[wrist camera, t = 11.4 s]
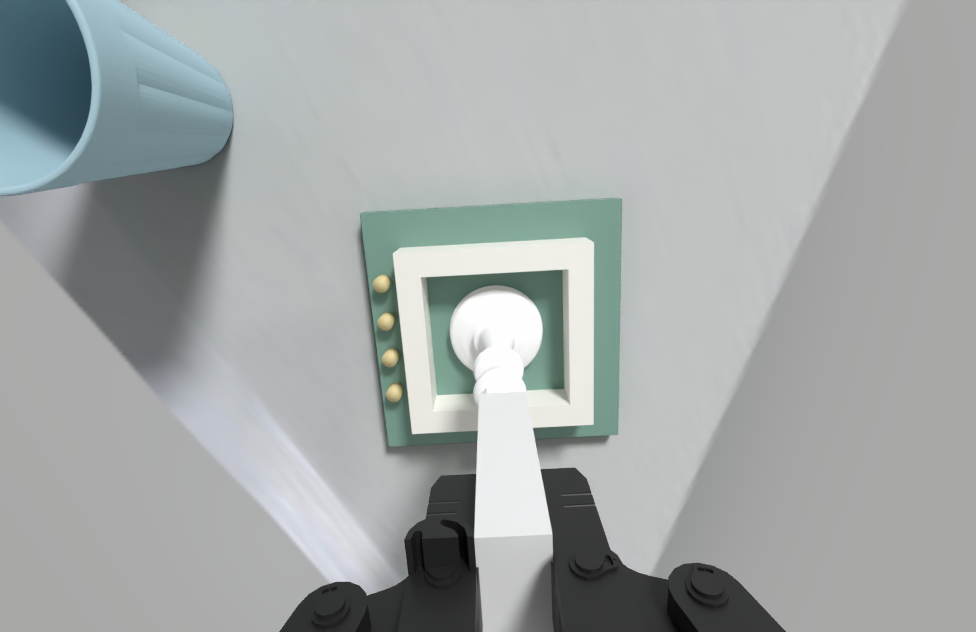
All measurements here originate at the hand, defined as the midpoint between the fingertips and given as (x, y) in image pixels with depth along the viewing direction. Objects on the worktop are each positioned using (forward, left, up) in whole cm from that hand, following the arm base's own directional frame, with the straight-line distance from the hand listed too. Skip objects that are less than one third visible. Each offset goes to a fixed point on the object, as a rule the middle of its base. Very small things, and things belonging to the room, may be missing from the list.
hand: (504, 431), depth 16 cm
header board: (0, 0, -12) cm, 12 cm away
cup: (-12, -15, -12) cm, 23 cm away
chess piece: (0, 0, -11) cm, 11 cm away
